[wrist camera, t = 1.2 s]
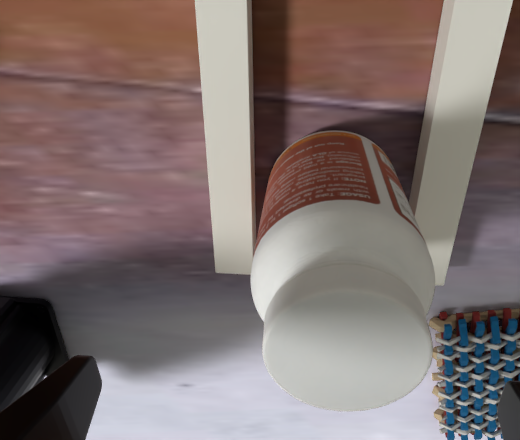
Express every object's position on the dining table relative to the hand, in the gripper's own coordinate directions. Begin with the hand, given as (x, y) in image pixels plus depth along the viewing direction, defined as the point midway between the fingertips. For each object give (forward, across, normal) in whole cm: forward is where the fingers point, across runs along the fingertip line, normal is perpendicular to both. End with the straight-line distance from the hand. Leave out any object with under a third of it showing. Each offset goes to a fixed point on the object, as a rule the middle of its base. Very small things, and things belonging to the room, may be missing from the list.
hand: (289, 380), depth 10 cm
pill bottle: (+13, -1, +2) cm, 14 cm away
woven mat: (+14, -13, +13) cm, 23 cm away
